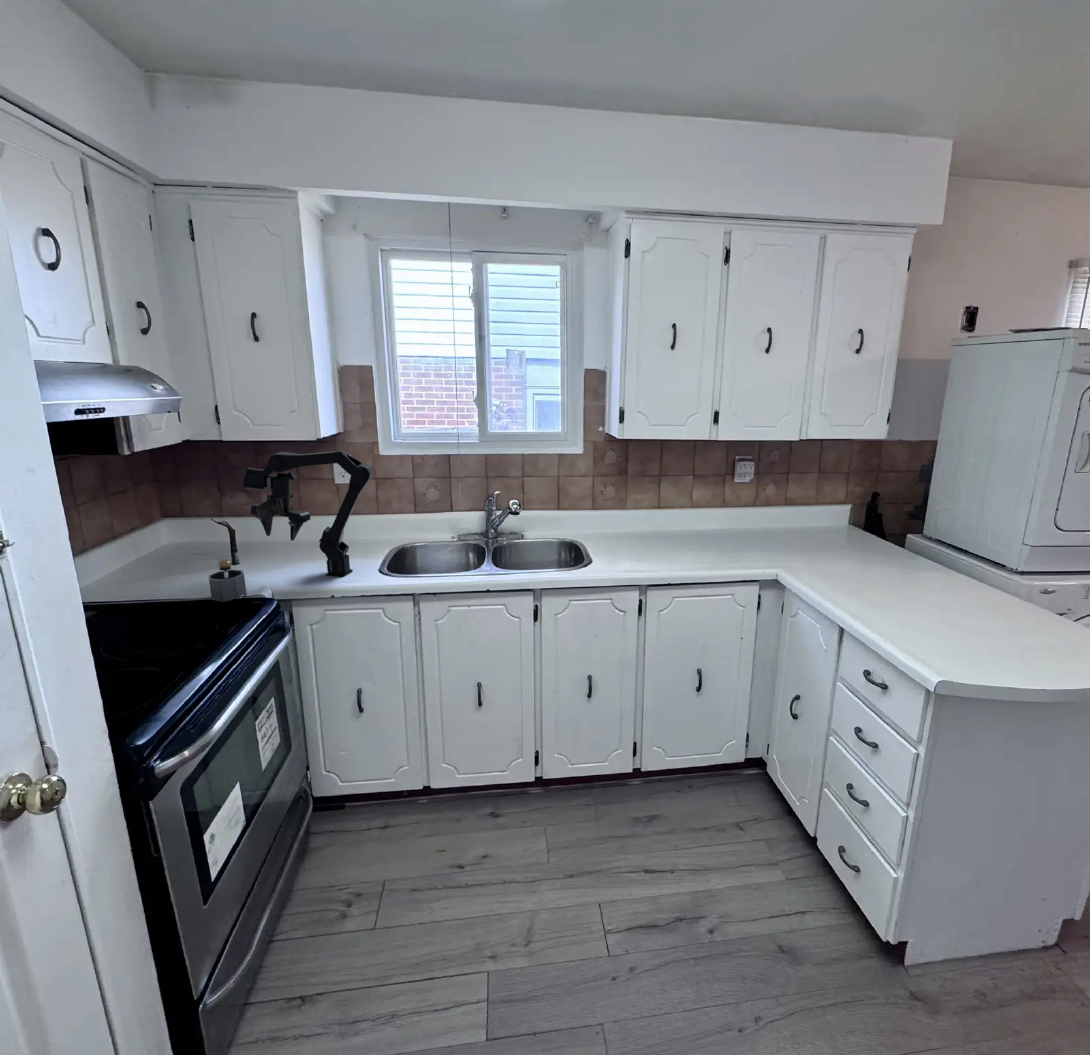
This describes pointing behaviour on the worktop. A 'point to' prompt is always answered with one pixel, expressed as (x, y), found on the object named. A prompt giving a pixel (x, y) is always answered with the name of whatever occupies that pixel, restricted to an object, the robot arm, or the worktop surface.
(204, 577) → the worktop surface
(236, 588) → the grey octagonal pot
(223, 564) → the plunger
